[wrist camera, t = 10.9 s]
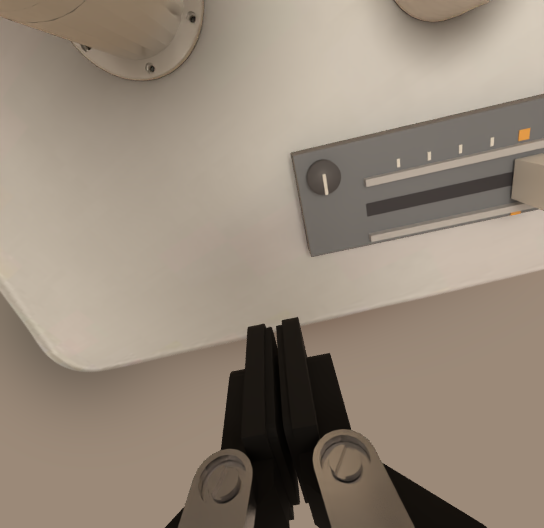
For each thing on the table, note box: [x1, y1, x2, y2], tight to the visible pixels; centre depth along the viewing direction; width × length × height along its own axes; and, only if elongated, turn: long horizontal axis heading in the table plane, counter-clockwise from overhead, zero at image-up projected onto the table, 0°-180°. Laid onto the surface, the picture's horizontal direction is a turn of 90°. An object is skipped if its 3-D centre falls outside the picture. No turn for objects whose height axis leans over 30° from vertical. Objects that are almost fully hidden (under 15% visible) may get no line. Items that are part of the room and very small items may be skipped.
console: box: [291, 94, 544, 257], centre depth 34 cm, size 11×32×4 cm, turn 102°
